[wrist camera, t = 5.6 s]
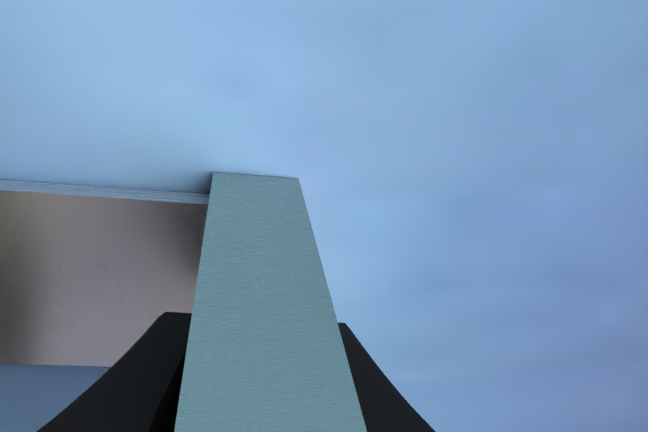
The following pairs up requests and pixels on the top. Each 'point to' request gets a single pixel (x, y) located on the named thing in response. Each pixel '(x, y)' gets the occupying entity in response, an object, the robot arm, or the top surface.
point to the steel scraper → (181, 295)
